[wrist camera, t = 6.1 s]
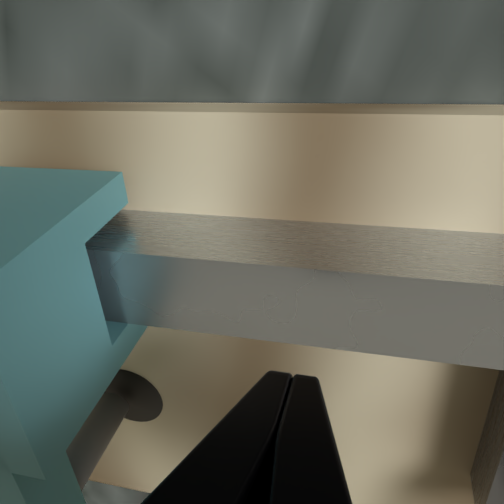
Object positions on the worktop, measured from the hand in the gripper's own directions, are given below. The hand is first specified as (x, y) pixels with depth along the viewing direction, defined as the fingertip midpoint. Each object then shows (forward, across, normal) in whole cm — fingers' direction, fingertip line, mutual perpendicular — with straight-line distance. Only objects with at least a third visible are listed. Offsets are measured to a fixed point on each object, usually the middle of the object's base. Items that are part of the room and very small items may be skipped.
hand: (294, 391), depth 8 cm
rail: (+5, +1, 0) cm, 5 cm away
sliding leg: (+4, +7, +2) cm, 8 cm away
